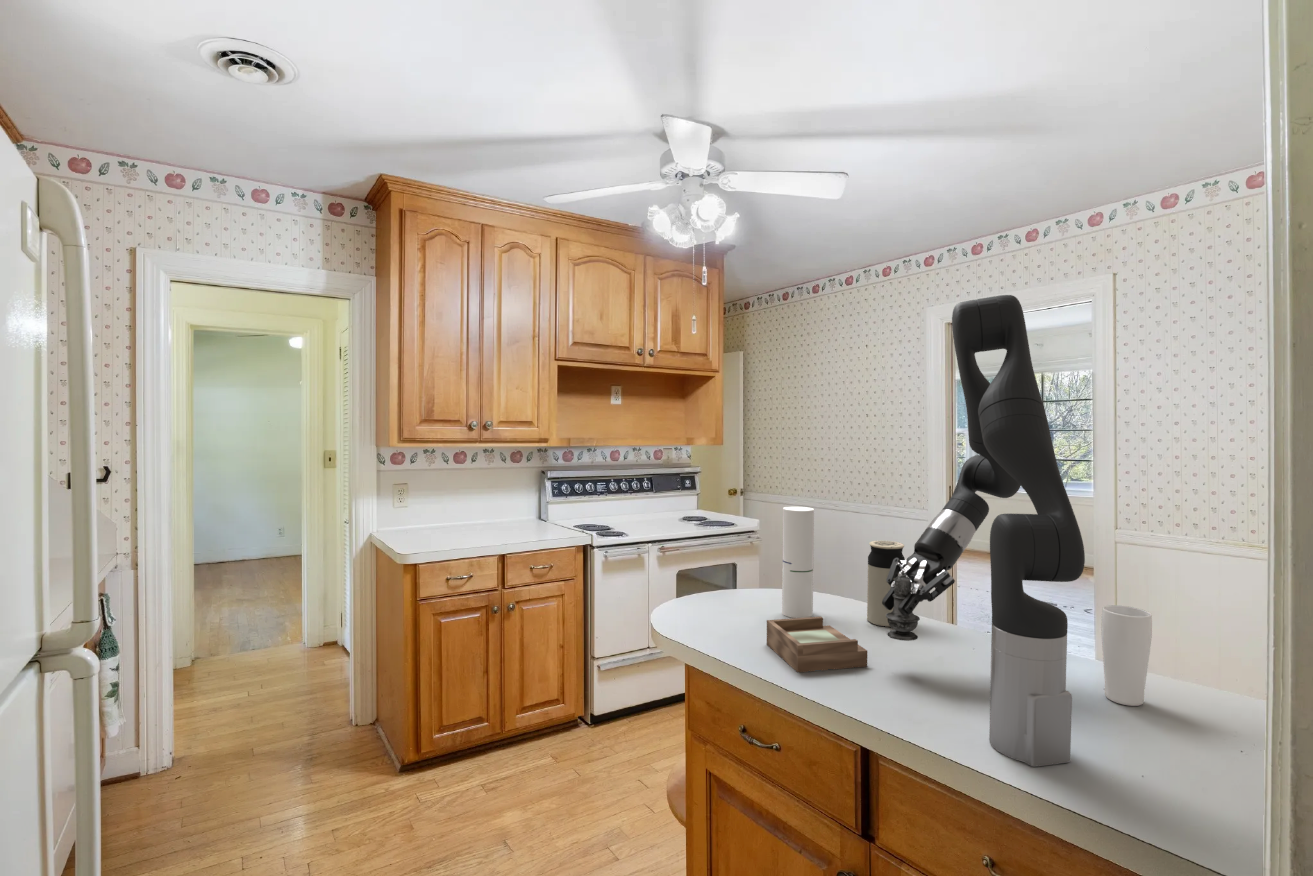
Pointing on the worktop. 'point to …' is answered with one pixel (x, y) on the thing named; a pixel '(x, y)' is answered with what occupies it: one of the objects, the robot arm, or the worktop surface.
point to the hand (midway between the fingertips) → (894, 609)
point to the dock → (813, 645)
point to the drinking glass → (1125, 652)
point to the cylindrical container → (797, 562)
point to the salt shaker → (895, 618)
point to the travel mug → (880, 578)
